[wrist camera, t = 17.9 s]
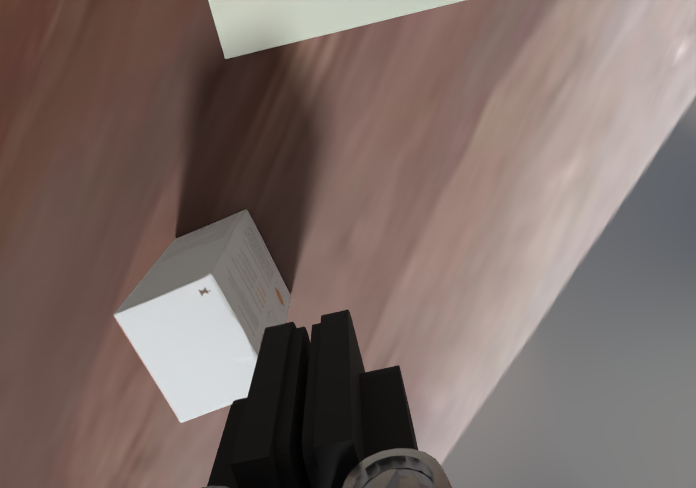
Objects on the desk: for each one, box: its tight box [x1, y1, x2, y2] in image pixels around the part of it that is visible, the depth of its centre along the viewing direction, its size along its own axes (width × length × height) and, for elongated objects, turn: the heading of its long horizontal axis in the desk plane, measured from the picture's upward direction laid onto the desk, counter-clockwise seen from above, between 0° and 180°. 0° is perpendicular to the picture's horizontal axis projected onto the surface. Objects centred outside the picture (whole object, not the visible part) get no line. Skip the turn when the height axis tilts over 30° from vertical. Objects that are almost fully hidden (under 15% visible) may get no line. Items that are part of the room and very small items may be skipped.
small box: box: [114, 209, 291, 423], centre depth 39 cm, size 8×6×13 cm
